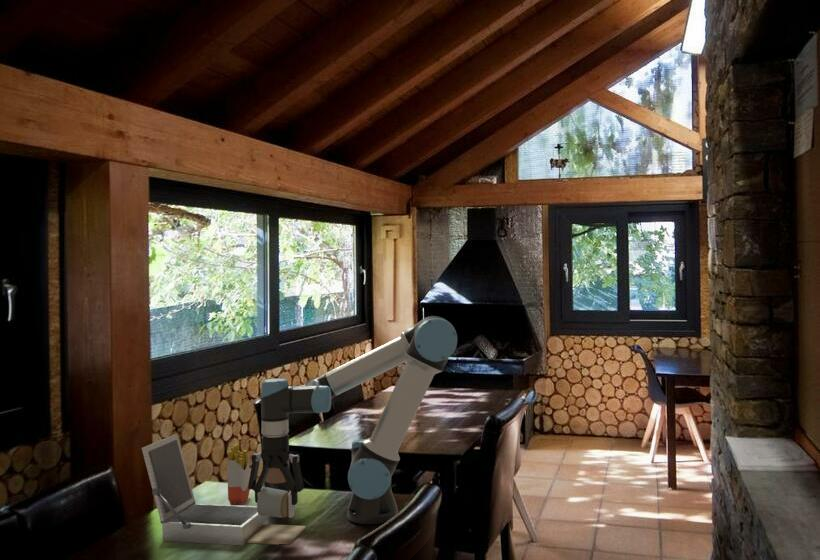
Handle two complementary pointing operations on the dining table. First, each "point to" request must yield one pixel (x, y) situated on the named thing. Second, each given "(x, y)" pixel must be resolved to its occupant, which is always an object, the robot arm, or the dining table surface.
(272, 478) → the travel mug
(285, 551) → the dining table surface
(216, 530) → the equipment case
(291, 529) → the cork pad
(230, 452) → the french fries container
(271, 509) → the ceramic mug
